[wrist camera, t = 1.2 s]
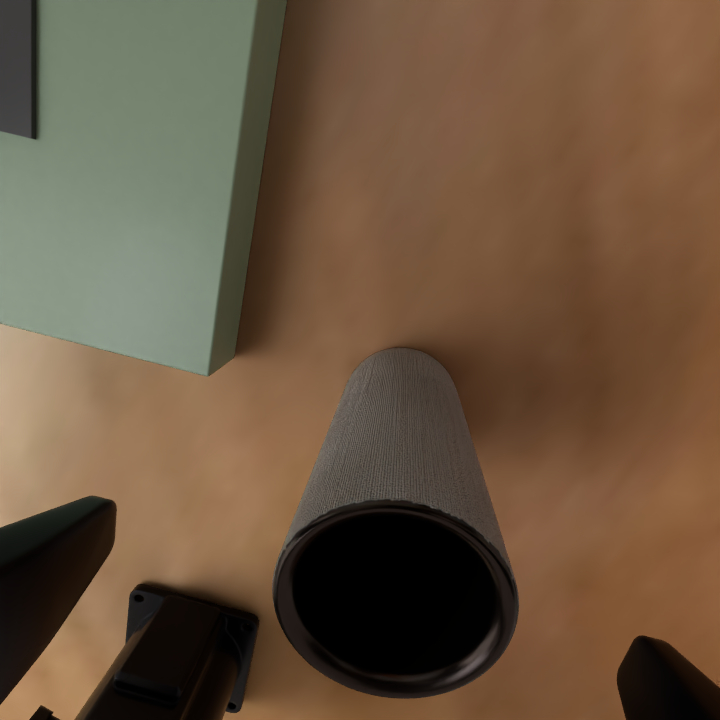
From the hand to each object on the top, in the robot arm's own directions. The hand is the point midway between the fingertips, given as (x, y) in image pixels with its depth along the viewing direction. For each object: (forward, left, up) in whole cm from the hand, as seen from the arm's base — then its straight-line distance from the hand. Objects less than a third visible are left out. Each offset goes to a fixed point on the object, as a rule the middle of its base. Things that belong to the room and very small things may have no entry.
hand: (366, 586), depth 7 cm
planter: (-1, -1, -11) cm, 11 cm away
